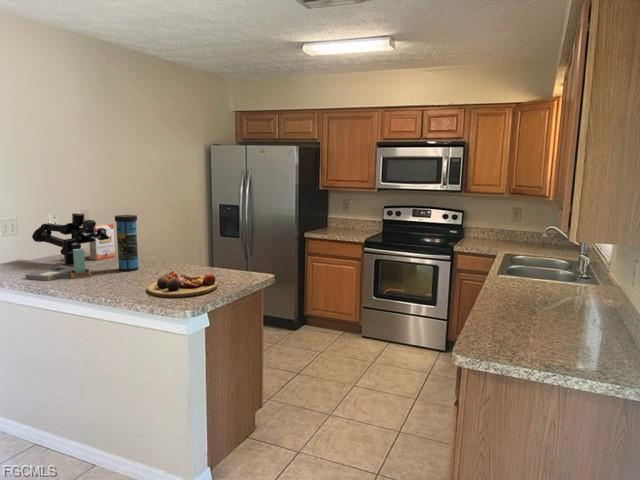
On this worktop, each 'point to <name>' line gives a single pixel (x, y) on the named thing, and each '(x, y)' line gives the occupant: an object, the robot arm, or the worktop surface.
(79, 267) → the post
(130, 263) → the advertising column
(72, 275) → the cubby
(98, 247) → the cracker box
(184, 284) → the wooden plate with food
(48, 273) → the board
